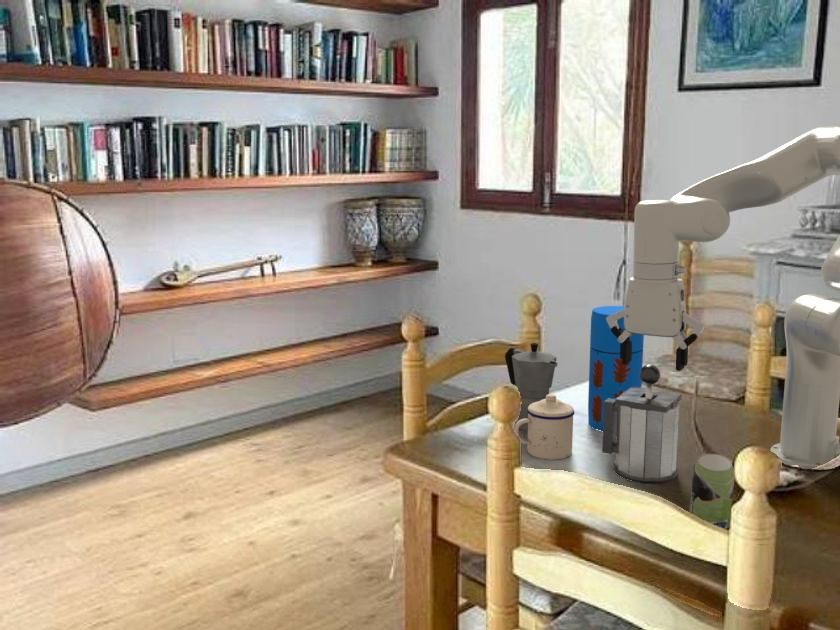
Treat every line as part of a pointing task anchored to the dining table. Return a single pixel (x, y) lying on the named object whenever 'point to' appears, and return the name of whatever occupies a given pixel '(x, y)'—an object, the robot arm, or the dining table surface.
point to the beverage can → (712, 489)
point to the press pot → (642, 434)
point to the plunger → (649, 378)
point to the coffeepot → (530, 376)
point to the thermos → (609, 364)
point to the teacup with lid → (549, 428)
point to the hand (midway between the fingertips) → (653, 365)
